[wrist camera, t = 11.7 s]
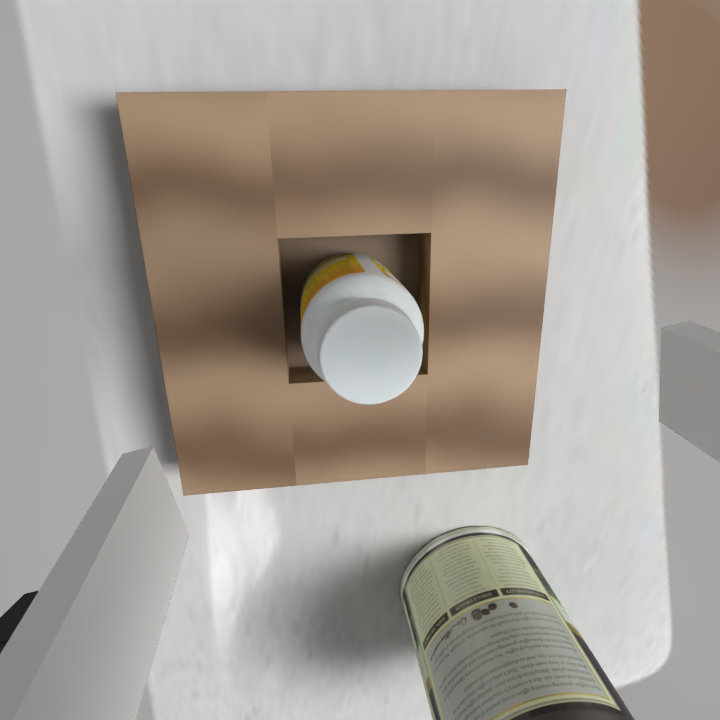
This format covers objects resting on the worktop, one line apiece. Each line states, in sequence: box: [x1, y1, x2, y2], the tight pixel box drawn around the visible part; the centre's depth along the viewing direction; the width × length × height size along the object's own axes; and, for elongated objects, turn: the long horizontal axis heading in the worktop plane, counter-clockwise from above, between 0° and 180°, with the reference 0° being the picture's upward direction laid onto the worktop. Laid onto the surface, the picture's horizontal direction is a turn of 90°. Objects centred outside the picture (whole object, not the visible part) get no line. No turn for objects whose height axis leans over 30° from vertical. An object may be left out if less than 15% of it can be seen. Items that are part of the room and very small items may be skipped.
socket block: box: [116, 89, 566, 496], centre depth 27 cm, size 20×20×4 cm
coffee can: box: [400, 526, 634, 720], centre depth 31 cm, size 10×10×14 cm
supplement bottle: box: [300, 253, 424, 404], centre depth 24 cm, size 5×5×10 cm
